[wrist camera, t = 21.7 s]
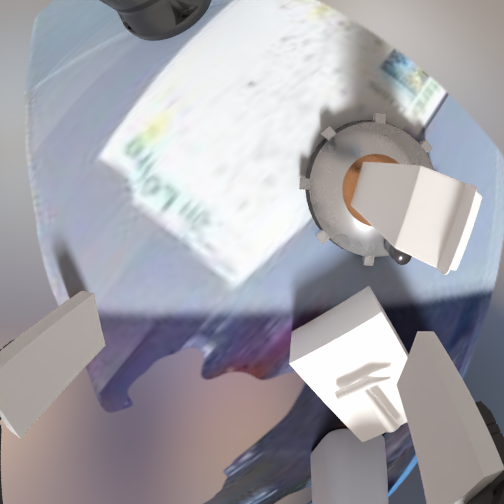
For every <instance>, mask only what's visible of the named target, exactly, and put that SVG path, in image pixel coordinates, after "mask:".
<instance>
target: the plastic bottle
mask: <svg viewBox="0 0 504 504" xmlns="http://www.w3.org/2000/svg"><path fill="white" fill-rule="evenodd" d="M311 477H312V504H388V485H387V466H386V453H385V441H384V437H383V436H382V435H379V436H376V437H374V438H372V439H369V440H367V441H365V442H361V441H360V439H359V438H358V437H357V436H356V435H355V434H354V433H353V432H352V431H351V430H350V429H337V430H334V431H331V432H329V433H328V434H327V435H325V437H324V438H323V439H322V440H321V442H320V443H319V444H318V445H317V447H316V448H315V449H314V450H313V452H312V453H311Z"/></svg>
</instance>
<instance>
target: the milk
mask: <svg viewBox="0 0 504 504" xmlns="http://www.w3.org/2000/svg"><path fill="white" fill-rule="evenodd" d="M481 200H482V196H481V195H480V194H479V193H478V192H477V188H476V186H474V185H470V184H466V183H463V182H461V181H459V180H456V179H454V178H452V177H449V176H447V175H444V174H442V173H439V172H437V171H434V170H432V169H429V168H427V167H424V166H419V165H407V164H394V163H378V162H363V164H362V167H361V171H360V174H359V178H358V181H357V185H356V188H355V191H354V195H353V198H352V201H351V204H350V205H351V206H352V207H353V208H354V209H355V210H356V211H357V212H358V213H359V214H361V215H362V216H363V217H364V218H365V219H366V220H367V221H368V222H369V223H370V224H371V225H372V226H373V227H374V228H375V229H376V230H377V231H378V232H379V233H380V234H381V235H382V236H383V237H384V238H385V239H386V240H387V241H388V242H389V243H390V244H391V245H392V246H393V247H394V248H396V249H398V250H400V251H402V252H404V253H406V254H408V255H410V256H413V257H415V258H417V259H419V260H421V261H423V262H425V263H427V264H429V265H431V266H433V267H436V268H437V269H438V270H439V271H440V272H441V273H442V274H444V275H447V274H448V273H449V271H450V270H457V268H458V266H459V263H460V261H461V258H462V256H463V253H464V251H465V248H466V245H467V243H468V240H469V237H470V234H471V231H472V228H473V225H474V222H475V219H476V216H477V213H478V210H479V207H480V203H481Z"/></svg>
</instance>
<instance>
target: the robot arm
mask: <svg viewBox="0 0 504 504" xmlns="http://www.w3.org/2000/svg"><path fill="white" fill-rule="evenodd" d="M100 1H101V2H103V3H105V4H107V5H108V6H110V7H112V8H113V9H115V10H117V12H118V14H119V16H120V18H121V20H122V22H123V24H124V26H125V27H126V28H127V30H128V31H130V32H131V33H132V34H134V35H136V36H137V37H139V38H141V39H144V40H151V41H156V40H163V39H167V38H170V37H173V36H176V35H178V34H180V33H182V32H184V31H185V30H187V29H188V28H190V27H191V26H192V25H194V24H195V23H196V22H197V21H198V20H199V19H200V18H201V17H202V16H203V15H204V13H205V12H206V10H207V9H208V7H209V5H210V2H211V0H100ZM104 346H105V341H104V337H103V333H102V329H101V325H100V320H99V316H98V311H97V306H96V301H95V296H94V293H90V292H86V291H80V292H79V293H77V294H76V295H74V296H73V297H72V298H70V299H69V300H67V301H66V302H65V303H63V304H62V305H60V306H59V307H58V308H56V309H55V310H53V311H52V312H51V313H49V314H48V315H47V316H45V317H44V318H43V319H41V320H40V321H39V322H37V323H36V324H35V325H33V326H32V327H30V328H29V329H28V330H26V331H25V332H24V333H23V334H21V335H20V336H19V337H17V338H16V339H14V340H12V341H10V342H9V343H8V344H7V345H5V346H4V347H3V349H0V420H1V419H2V420H3V422H4V423H5V424H6V426H7V428H8V429H9V430H10V431H12V432H13V433H14V434H15V435H17V436H18V437H19V438H22V437H23V435H24V434H25V433H26V432H27V431H28V430H29V428H30V427H31V426H32V425H33V424H34V423H35V422H36V420H37V419H38V418H39V417H40V416H41V415H42V414H43V412H44V411H45V410H46V409H47V408H48V407H49V406H50V405H51V403H52V402H53V401H54V400H55V399H56V398H57V397H58V396H59V395H60V393H61V392H62V391H63V390H64V389H65V388H66V387H67V386H68V385H69V384H70V382H71V381H72V380H73V379H74V378H75V377H76V376H77V375H78V374H79V373H80V372H81V370H83V368H84V367H85V366H86V365H87V364H88V363H89V362H90V361H91V360H92V359H93V358H94V357H95V356H96V355H97V354H98V353H99V352H100V350H101V349H102V348H103V347H104ZM396 386H397V389H398V392H399V395H400V398H401V401H402V405H403V408H404V411H405V415H406V418H407V422H408V425H409V429H410V433H411V436H412V440H413V444H414V448H415V452H416V456H417V460H418V464H419V469H420V473H421V478H422V482H423V487H424V492H425V497H426V502H427V504H504V437H503V435H502V433H500V429H499V427H498V425H497V424H496V421H495V419H494V417H493V415H492V413H491V411H490V410H489V409H488V408H487V407H486V406H485V405H484V404H483V403H482V402H481V401H480V402H474V400H473V398H472V397H471V394H470V393H469V391H468V389H467V387H466V385H465V383H464V381H463V380H462V378H461V376H460V374H459V373H458V371H457V369H456V367H455V366H454V364H453V362H452V360H451V359H450V357H449V355H448V354H447V352H446V350H445V349H444V347H443V346H442V344H441V342H440V341H439V339H438V338H437V336H436V334H435V333H434V332H432V331H417V334H416V337H415V339H414V342H413V345H412V348H411V350H410V353H409V356H408V358H407V361H406V363H405V366H404V368H403V370H402V373H401V375H400V378H399V380H398V382H397V384H396ZM0 452H1V425H0ZM0 455H1V453H0ZM0 459H1V456H0ZM0 461H1V460H0ZM0 464H1V462H0ZM0 504H3V501H2V488H1V465H0Z"/></svg>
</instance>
